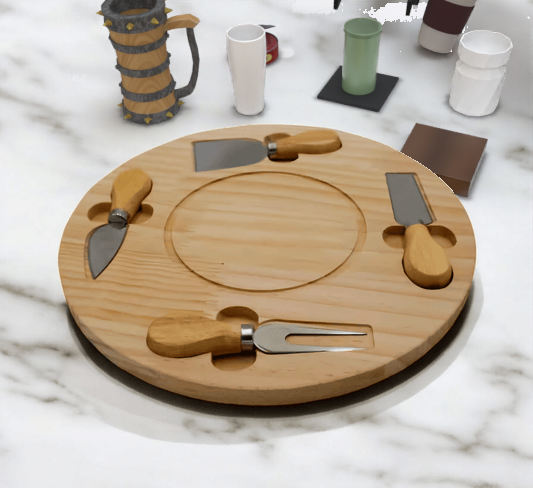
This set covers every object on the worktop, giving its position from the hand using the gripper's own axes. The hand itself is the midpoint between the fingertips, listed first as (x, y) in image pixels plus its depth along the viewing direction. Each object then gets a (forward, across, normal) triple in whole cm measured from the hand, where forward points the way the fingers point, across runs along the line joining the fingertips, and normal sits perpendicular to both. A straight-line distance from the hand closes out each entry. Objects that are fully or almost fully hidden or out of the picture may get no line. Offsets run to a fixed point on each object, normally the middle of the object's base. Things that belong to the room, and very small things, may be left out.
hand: (371, 5), depth 121 cm
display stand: (+30, -17, -12) cm, 36 cm away
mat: (+9, 0, -12) cm, 15 cm away
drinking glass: (+20, +18, -12) cm, 30 cm away
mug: (+24, +34, -12) cm, 43 cm away
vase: (+10, -21, -12) cm, 26 cm away
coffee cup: (-8, -12, -11) cm, 18 cm away
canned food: (+1, +23, -12) cm, 26 cm away
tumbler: (+9, 0, -12) cm, 15 cm away
